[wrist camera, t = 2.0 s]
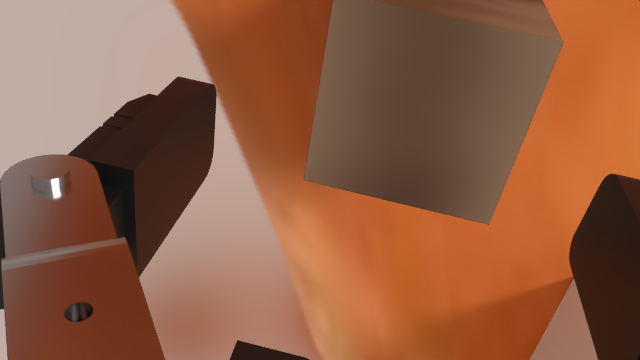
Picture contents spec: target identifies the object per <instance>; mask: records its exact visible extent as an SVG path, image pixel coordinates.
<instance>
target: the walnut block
mask: <svg viewBox="0 0 640 360" xmlns="http://www.w3.org/2000/svg"><path fill="white" fill-rule="evenodd" d="M562 45H563V40H562V38H561V36H560V34H559V32H558V30H557V28H556V26H555V24H554V22H553V20H552V18H551V16H550V14H549V12H548V10H547V8H546V6H545V4H544V2H543V0H333V4H332V10H331V16H330V22H329V29H328V35H327V41H326V47H325V53H324V59H323V65H322V71H321V77H320V84H319V90H318V96H317V102H316V108H315V114H314V120H313V126H312V132H311V139H310V145H309V151H308V157H307V163H306V169H305V175H304V180H305V181H309V182H313V183H317V184H322V185H326V186H330V187H334V188H338V189H342V190H346V191H351V192H355V193H359V194H363V195H367V196H371V197H376V198H380V199H384V200H388V201H392V202H396V203H400V204H405V205H409V206H413V207H417V208H421V209H425V210H429V211H434V212H438V213H442V214H446V215H450V216H454V217H458V218H463V219H467V220H471V221H475V222H479V223H483V224H487V225H489V223H490V221H491V218H492V216H493V213H494V211H495V208H496V206H497V204H498V201H499V199H500V196H501V194H502V191H503V189H504V186H505V184H506V182H507V179H508V177H509V174H510V172H511V169H512V167H513V164H514V162H515V160H516V157H517V155H518V152H519V150H520V147H521V145H522V143H523V140H524V138H525V135H526V133H527V130H528V128H529V125H530V123H531V121H532V118H533V116H534V113H535V111H536V108H537V106H538V103H539V101H540V99H541V96H542V94H543V91H544V89H545V86H546V84H547V81H548V79H549V77H550V74H551V72H552V69H553V67H554V64H555V62H556V59H557V57H558V55H559V52H560V50H561V47H562Z"/></svg>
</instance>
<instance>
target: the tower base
mask: <svg viewBox="0 0 640 360" xmlns="http://www.w3.org/2000/svg"><path fill="white" fill-rule="evenodd" d="M530 360H598V358H597V355H596V351H595V348H594V344H593V341H592V338H591V334H590V331H589V327H588V324H587V321H586V317H585V314H584V310H583V307H582V304H581V300H580V297H579V293H578V290H577V287H576V283H575V280H574V279H573V280H572V282H571V284H570V286H569V288H568V290H567V292H566V293H565V295H564V297H563V299H562V301H561V303H560V304H559V306H558V308H557V310H556V312H555V314H554V315H553V317H552V319H551V321H550V323H549V325H548V327H547V328H546V330H545V332H544V334H543V336H542V338H541V339H540V341H539V343H538V345H537V347H536V349H535V350H534V352H533V354H532V356H531V358H530Z"/></svg>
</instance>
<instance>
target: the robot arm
mask: <svg viewBox="0 0 640 360" xmlns="http://www.w3.org/2000/svg"><path fill="white" fill-rule="evenodd" d="M215 113H216V88H215V86H214V85H213V84H209V83H205V82H200V81H196V80H191V79H187V78H182V77H177V78H176V79H175V80H173V81H172V82H171V83H170V84H169V85H168V86H167V87H166V88H165V89H164V90H163V91H162V92H161V93H160V94H159V95H158V96H156V95H152V94H148V95H145V96H142V97H140V98H137V99H134V100H132V101H129V102H127V103H126V104H125V105H124V106H123V107H122V108H120V109H119V110H118V111H117V112H116V113H115V114H114V117H110V118H109V119H108V120H107V121H106V122H105V123H103V126H102V127H99V128H98V129H96V130H95V131H94V132H93V133H92V134H91V135H90V136H89V137H88V138H86V139H85V140H84V141H83V142H82V143H81V144H80V145H78V146H77V147H76V148H75V149H74V150H73V151H71V152H70V153H69V154H68V155H43V156H37V157H33V158H29V159H26V160H23V161H21V162H19V163H17V164H15V165H14V166H12V167H10V168H9V169H8V170H7V171H6V172H5V173H4V174H3V176H2V178H1V180H0V309H4V311H5V327H6V342H7V356H8V360H165V358H164V355H163V352H162V349H161V345H160V342H159V339H158V336H157V333H156V330H155V327H154V323H153V320H152V317H151V314H150V311H149V308H148V305H147V302H146V299H145V296H144V292H143V289H142V286H141V283H140V280H139V277H140V275H141V273H142V272H143V271H144V269H145V267H146V266H147V264H148V263H149V262H150V260H151V259H152V257H153V256H154V254H155V253H156V251H157V250H158V248H159V247H160V245H161V244H162V242H163V241H164V239H165V238H166V236H167V235H168V233H169V232H170V230H171V229H172V227H173V226H174V224H175V223H176V221H177V220H178V218H179V217H180V215H181V214H182V212H183V211H184V209H185V208H186V206H187V205H188V203H189V202H190V201H191V199H192V198H193V196H194V195H195V193H196V192H197V190H198V188H199V187H200V185H201V184H202V183H203V181H204V179H205V178H206V176H207V174H208V172H209V169H210V165H211V162H212V157H213V149H214V132H215V131H214V130H215ZM569 261H570V266H571V270H572V273H573V276H574V280H575V283H576V287H577V290H578V293H579V297H580V300H581V304H582V307H583V310H584V314H585V317H586V321H587V324H588V327H589V331H590V334H591V338H592V341H593V344H594V348H595V351H596V355H597V358H598V360H640V180H639V179H635V178H630V177H626V176H621V175H617V174H609V175H608V176H606V177H605V178H604V180H603V181H602V182H601V184H600V186H599V188H598V190H597V192H596V194H595V196H594V198H593V199H592V201H591V203H590V205H589V207H588V209H587V211H586V213H585V215H584V217H583V219H582V221H581V223H580V224H579V226H578V228H577V230H576V232H575V234H574V236H573V239H572V242H571V247H570V254H569ZM230 360H309V359H307V358H305V357H301V356H297V355H293V354H289V353H285V352H280V351H277V350H273V349H269V348H265V347H261V346H258V345H253V344H250V343H245V342H242V341H238V340H237V343H236V345H235V348H234V350H233V353H232V355H231V358H230Z"/></svg>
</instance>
